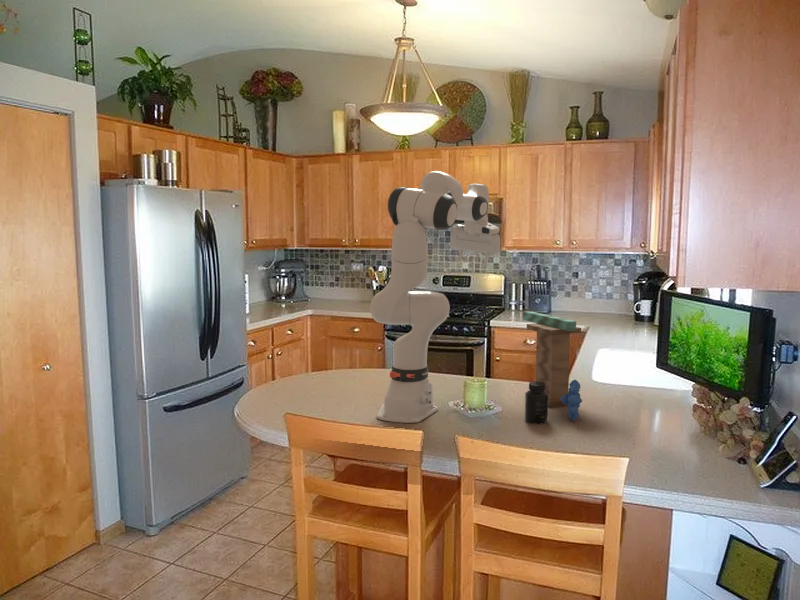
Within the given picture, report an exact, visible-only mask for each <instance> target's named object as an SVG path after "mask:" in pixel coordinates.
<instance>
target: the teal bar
mask: <svg viewBox="0 0 800 600" xmlns="http://www.w3.org/2000/svg"><path fill="white" fill-rule="evenodd" d="M522 319H523V321H526V322H530V323H533V324H535V323H538V324H542V325H546V326H550V327H555V328H559V329H563V330H567V331H574V330H576V327H577V321H576V320H574V319H573V320H572V319H568V318H562V317H560V316H554V315H551V314H550V315H549V314H544V313H540V312H537V311H532V310H527V311H523V312H522Z"/></svg>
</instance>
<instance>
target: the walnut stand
mask: <svg viewBox="0 0 800 600" xmlns="http://www.w3.org/2000/svg"><path fill="white" fill-rule="evenodd" d="M526 329H527V330H530V331H534V332H536V350H535V351H536V352H535V355H536V356H535V357H536V358H535V381H539V382H543V383H545V390H544V391H545V392H546V393H547V394H548V409H551V408H559V407H567V404H563V403H562V401H561V400H560V398H561V397H562V396H563V395H564V394H568V391H569V390H568V389H569V388H570V385H569V384H570V383H569V382H570V381H569V380H570V350H571V349H570V346H571V334H581V333H582V327H578V326H576V330H574V331H567V330H563V329H559V328H555V327H550V326H546V325H542V324H538V323H527V324H526ZM524 394H525V395H526V392H525V393H524ZM525 395H524V396H525Z"/></svg>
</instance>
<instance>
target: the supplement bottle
mask: <svg viewBox="0 0 800 600" xmlns="http://www.w3.org/2000/svg"><path fill="white" fill-rule="evenodd" d="M544 390H545V383H543V382H539V381H536V380H535V381H530V382H529V383H528V390H526V392H525V393H526V395H524V397H525V398H524V399H525V400H524V401H525V403H524V404H525V405H524V406H525V407H524V420H525V421H526V422H527V423H529V422H530V423H529V424H532V423H537V424H536V425H541V424H540V423H543V424H545V422H546V423H547V422H548V415H549V413H548V411H549V408H548V394H547V393H546V392H545V391H544Z"/></svg>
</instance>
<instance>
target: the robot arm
mask: <svg viewBox="0 0 800 600" xmlns="http://www.w3.org/2000/svg"><path fill="white" fill-rule="evenodd" d="M419 187H420V189H419V188H411V187H407V186H402V187H395V188H394V189H393V190H392V191H391V193H390V194H389V197H388V201H387V210H388V214H389V217H390V218H391V220H392V223H393V225H394V230H393V234H392V241H391V272H390V273H391V274H390V277H389V280H388V283H387V284H386V285H385V286H384V288H383V289H382V290H380V291H378V292H377V293H376V294H374V296H373V297H372V299H371V301H370V304H369V305H370V306H369V311H370V315H371V317H372V319H373V320H374V321H375V322H376V323H378V324H383V325H385V324H386V325H389V326H393V325H394V326H400V325H401V326H403V325H404V326H405V325H406V326H412V329H411V330H410V331H409V332H408V333H405V334H403V335H401V336H399V337H397V339H395V341H394V343H393V346H392V351H393V353H392V356H393V357H392V358H393V360H392V362H393V364H392V366H391V371H390V372H389V377H390V381H389V383H388V387H387V390H386V393H385V395H384V399H383V401H384V402H382V405H381V407H379V408H380V409H379V410H378V412H377V414H376V418H377V419H378V420H382V421H386V422H394V423H402V424H403V423H408V424H409V423H413V424H414V423H419V422H421V421H423V420H424V419H426V418H427V417H430V416H431V415H432V414H434V413H436V412H438V411H439V408H438V406H437V405H435V404H434V389H433V384H432V383H431V382H430V381H429V379H428V377H429V367H428V365H427V362H428V361H427V360H428V347H429V346H428V345H429V341H430V339H431V336H432V335H433V332H434V331H435V330H436V329H437V328H438V327H439V326H441V324H443V323H445V321H446V320H447V318H448V317H449V315H450V309H451V308H450V307H451V306H450V301H449V299H448V297H447V296H446V295H445V294H444V293H441V292H438V291H437V292H436V291H431V290H413V289H415V288H417V287H419V286H421V285H422V284H423V283H424V281H426V278H427V277H428V243H427V241H428V240H427V235H426V231H425V230H426V228H427V229H435V230H436V231H446V230H449V229H450V228H451V234H450V235H451V236H450V240H449V241H450V243H449V246H450V248H451V249H457V253H458V255H459V257H460V261H461V262H465V261H466V259H467V256H466V255H464V251H469V252H476V253H484V256H485V257H484V258H483V259H482V260H481V265H487V264H488V261H489V258H490V257H491V256H492V255H496V254H499V253H500V251H501V237H500V234H499V233H500V228H499V227H498V226H497V225H494V224H493V223H490V222H489V217H488V211H489V209H490V207H489V206H490V194H489V193H490V192H489V187H488V186H487V185H485V184H482V183H470V184H468V186H467V190H466V193H464V189H463V186H462V184H461V182H460V181H459V180H457V178H455V177H453V176H452V175H451V174H450V173H449V174H448V173H447V172H444V171H439V170H434V171H432V170H431V171H429V172H428V173H427V174H425V175H424V176H423V177H422V179H421V182H420V185H419ZM456 221H464V225H463V224H455V222H456ZM454 224H455V225H454Z"/></svg>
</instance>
